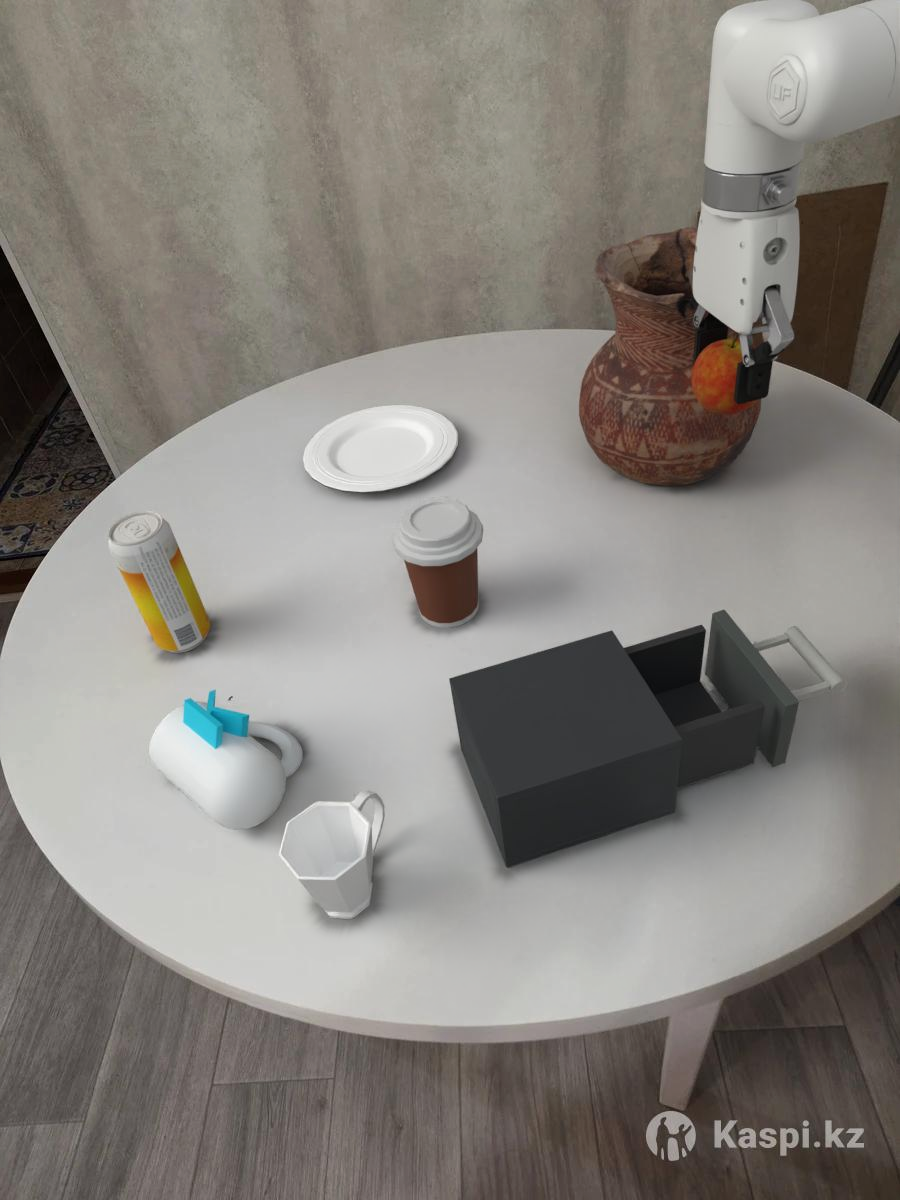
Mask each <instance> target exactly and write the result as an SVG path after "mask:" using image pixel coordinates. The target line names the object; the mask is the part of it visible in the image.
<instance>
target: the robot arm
mask: <svg viewBox="0 0 900 1200" xmlns="http://www.w3.org/2000/svg"><path fill="white" fill-rule="evenodd" d="M708 87H709V88H708V100H707V101H708V102H707V103H708V104H707V117H706V129H705V130H706V132H705V143H704V144H705V145H704V156H703V157H704V158H703V159H704V160H703V173H702V185H701V200H700V206H701V210H700V214H699V220H698V226H697V228H698V231H697V239H696V247H695V255H694V266H693V268H692V269H691V270H690V271H689V273H688V277H689V281H690V285H691V289H692V293H693V294H692V302H693V304H694V307H695V311H696V312H695V314H694V317H693V322H694V325H695V326H696V327H699V328H698V329H695V342H694V356H693V366H694V364H695V361H696V359H697V358H698V356H699V354H700V353H701V352H702V351H703V350H704V349H705V348H706V347H707V346H708V345H710V344H711V343H713V342H716V341H720V340H725V339H727V335H728V327H730V328H731V329H733V332H736V333H737V332H738V333H739V336H738V338H739V339H740V344H741V351H742V358H743V362H739V363H738V366H737V374H736V383H735V392H734V401H735V402H736V403H737V404H743V403H747V402H751V401H755V400H758V399H761V400H762V399H765V398H767V396H769V392H770V385H771V376H772V370H773V363H774V361H776V360H777V359H778V357H779V356H780V354H782V353H783V352H784V351H785V349H786V348H787V347H788V346H789V345H790V344H791V343H792V342H793V341H794V339H795V333H794V330H793V327H792V324H791V322H792V321H793V316H794V311H795V304H796V296H797V289H798V287H797V286H798V277H799V264H800V263H799V261H800V241H801V240H800V239H801V237H800V215H799V214H800V213H799V208H797V207H796V203H797V200H798V199H797V198H798V192H799V185H800V178H801V170H802V163H803V157H804V149H805V144H814V143H819V142H824V141H826V140H830V139H833V138H836V137H840V136H842V135H845V134H848V133H851V132H853V131H854V132H855V131H856V130H860V129H862V128H864V127H866V126H870V125H873V124H876V123H878V122H879V123H880V122H882V121H886V120H889V119H891V118H896V117H899V116H900V0H869V1H865V2H862V3H859V4H858V3H857V4H855V5H850V6H848V7H845V8H843V9H839V10H835V11H831V12H827V13H823V14H820V13H819V10H818V8H816V6H815V5H813V4H812V3H810V2H808V1H805V0H757V1H752V2H747V3H743V4H740V5H736V6H734V7H732V8H730V9H728V10H726V11H725V12H724V13H723V14H722V15H721V16H720V17H719V19H718V20H717V24H716V26H715V28H714V32H713V37H712V47H711V61H710V74H709V86H708ZM759 319H761V322H762V324H760V325H756V326H754V323H757V321H758V320H759ZM721 321H722V323H721ZM761 333H762V334H761ZM758 334H761V335H762V340H763V342H761V343H760V344H758V345H756V346H757V347H756V348H755V349H754V347H753V344H754V340H753V336H755V335H758Z"/></svg>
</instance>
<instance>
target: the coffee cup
mask: <svg viewBox="0 0 900 1200" xmlns="http://www.w3.org/2000/svg"><path fill="white" fill-rule="evenodd" d="M391 535H392V536H391V542H392V545H393V548H394V551H395V554H396V555H397V556H398V557H400V558H402V559H403V561H404V564H405V568H406V571H407V574H408V578H409V581H410V584H411V587H412V591H413V594H414V597H415V601H416V604H417V608H418V612H419V615H420V617H421V620H423V621H424V622H426V624H428V625H430V626H433V627H436V628H441V629H442V628H443V629H445V628H446V629H447V628H448V629H449V628H455V627H458V626H462V625H464V624H465V623H468V622H469V621H471V620H473V618H474V617H475V615H476V614H477V613H478V611H479V604H480V600H479V560H478V554H479V553H478V548H479V546H480V545H481V544H482V542H483V536H484V525H483V523H482V521H481V520H480V517H479V516H478V515H477V513H475V512H473V511H472V510H470V509H469V507H468V505H467V504H465V503H463V502H462V501H460V500H459V499H457V498H451V497H448V496H433V497H432V496H431V497H428V498H425V499H420V500H419V501H416V502H415V503H413V504H411V505H409V506H408V507H407V508H406V509H405V510H404V511H403V513H401V516H400V519H399V520H398V522H397V523H396V524H395V525H394V528H393V532H392V534H391Z"/></svg>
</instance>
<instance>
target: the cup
mask: <svg viewBox="0 0 900 1200" xmlns="http://www.w3.org/2000/svg"><path fill="white" fill-rule="evenodd" d="M370 799H371V800H372V803H373V805H374V817H373V821H372V823H371V822H370V821H369V819H368V818H367V817H366V816H365V815H364V814H363V813H362V812H361V811H362V810H363V808H364V806H365V804H366V802H367V801H369V800H370ZM385 814H386V813H385V804H384V802H383V799H382V798H381V796H379V794H378V793H376V792H374V791H371V790H362V791H360V792H359V794H357V795H356V796H355V798H354V799H353V800H352V801H323V800H322V801H318V800H317V801H315V802H314V803H311V805H309V806H308V807H307V808H305V809H303V810H302V811H301V812H300V813H299V814H297V815H295V816H294V817H293V818H291V819H290V820H288V821H287V822H286V824H285V828H284V833H283V835H282V840H281V843H280V848H279V851H278V856H279V857H280V858H281V860H282V862H284V864H285V865H286V866H287V867H288V869H289V870H290V871H291V872H292V874H293V875H294V877H296V879H297V880H298V881H299V882H300V884H301V885H302V886H303V888H304V889H305V890H306V891H307V892H308V894H309V895H310V896H311V898H312V899H313V900H314V902H316V904H317V905H319V907H320V908H322V909H323V910H324V911H325V913H326V914H327V915H328V916H329V917H330V919H342V920H343V919H345V920H346V919H347V920H348V919H349V920H353V919H354V918H355V917H356V916H358V915H360V913H362V912H363V911H364V910H365V909H366V908H368V907H369V906H370V905H371V899H372V893H373V886H374V884H373V882H372V877H373V868H374V854H375V852H376V848H377V846H378V842H379V840H380V837H381V834H382V829H383V826H384V821H385Z"/></svg>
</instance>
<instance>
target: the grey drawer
mask: <svg viewBox="0 0 900 1200" xmlns="http://www.w3.org/2000/svg"><path fill="white" fill-rule="evenodd" d="M706 636H707V630H706V627H705V626H704V625H703V624H699V625H695V626H692V627H689V628H686V629H682V630H679V631H675V632H672V633H669V634H664V635H662V636H658V637H655V638H652V639H649V640H645V641H642V642H639V643H635V644H631V645H629V646H628V645H627V646H625V647H623V648H624V649H625V651H626V652H627V654H628V656H629V657H630V659H631V660H632V662H633V663H634V665H635V666H636V668H637V670H638V671H639V673H640V674H641V676H642V677H643V679H644V680H645V682H646V684H647V685H648V687H649V688H650V690H651V691H652V693H653V694H654V696H655V698H656V699H657V701H658V702H659V704H660V705H661V707H662V708H663V710H664V712H665V713H666V715H667V716H668V718H669V719H670V721H671V723H672V724H673V726H674V727H675V729H676V730H677V732H678V733H679V735H680V737H681V738H682V747H681V756H680V766H679V776H678V785H677V789H679V788H683V787H686V786H688V785H692V784H695V783H698V782H702V781H704V780H707V779H711V778H714V777H717V776H719V775H723V774H725V773H729V772H731V771H736V770H738V769H741V768H744V767H747V766H751V765H752V764H754V763H755V759H756V755H757V750H759V751H760V752H761V754H762V755H763V757H764V758H765V760H766V761H767V762H768V763H769V765H770V766H771V767H772V768H775V767H778V766H781V765H785V764H786V761H787V756H788V752H789V748H790V744H791V739H792V736H793V731H794V727H795V723H796V718H797V716H798V715H797V714H798V711H799V706H800V700H804V699H807V698H810V697H813V696H816V695H820V694H823V693H826V692H829V691H830V692H831V693H832V694H838V693H841V692H842V691H843V690H845V688H847V681H846V680H845V679H844V678H843V676H842V675H840V673H839V672H838V671H837V670H836V668H834V667H833V665H832V664H831V663H830V662H829V661H828V660H827V658H826V657H824V656H823V654H822V653H821V652H820V651H819V650H818V649H817V647H816V646H815V645H814V644H813V643H812V642H811V640H809V639H808V638H807V636H806V635H805V633H803V631H802V630H801V629H800V628H799V627H797V626H791V627H789V628H788V629H786V630H785V631H784V633H783V634H781V635H776V636H774V637H771V638H768V639H764V640H761V641H758V642H754V643H753V642H751V640H750V639H749V638H748V636H746V634H745V633H744V631H742V630H741V628H740V627H739V625H738V624H737V623H736V622H735V621H734V620H733V618H732V617H731V616H730V615H729V613H728V612H727V611H726V610H725V609H720V610H718V611H715V612H712V613H711V620H710V628H709V638H708V645H707V653H706V661H705V669H704V675H705V677H706V678H707V679H708V680H709V682H710V683H711V685H712V686H713V687H714V688H715V690H716V691H717V693H718V694H719V696H720V697H721V698H722V700H723V701H724V702H725V704H726V705H727V707H728V708H729V709H726V710H722V709H720V707H719V705H718V704H717V703H716V701H715V700H714V698H713V697H712V695H711V694H710V693H709V691H708V690H707V689H706V687H705V685H704V684H703V683H702V681H701V678H702V669H703V660H704V653H705V652H704V651H705V642H706ZM785 644H790V646H791V647H792V648H793V650H795V652H796V653H797V654H798V655H799V656H800V657H801V659H802V660H803V661H804V662H805V664H806V665H807V666H808V667H809V668H810V669H811V670H812V672H814V674H815V675H816V677H818V679H820V681H821V682H818V683H816V684H813V685H809V686H806V687H803V688H800V689H796V690H794V691H791V690H790V689H789V687H788V686H787V685H786V684H785V682H784V680H783V679H781V677H780V676H779V675H778V674H777V673H776V671H775V670H774V669H773V667H772V666H771V665H770V664H769V663H768V661H767V660H766V659H765V658H764V656H763V655H762V654H761V653H760V652H762V651H765V650H769V649H771V648H775V647H779V646H783V645H785Z"/></svg>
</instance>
